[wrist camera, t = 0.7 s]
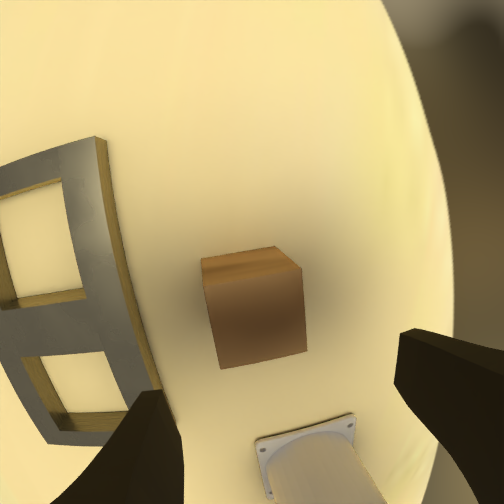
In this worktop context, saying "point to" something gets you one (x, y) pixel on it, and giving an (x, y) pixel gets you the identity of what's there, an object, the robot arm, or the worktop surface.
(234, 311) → the square peg
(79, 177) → the socket plate
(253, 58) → the worktop surface
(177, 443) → the robot arm
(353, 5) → the worktop surface
